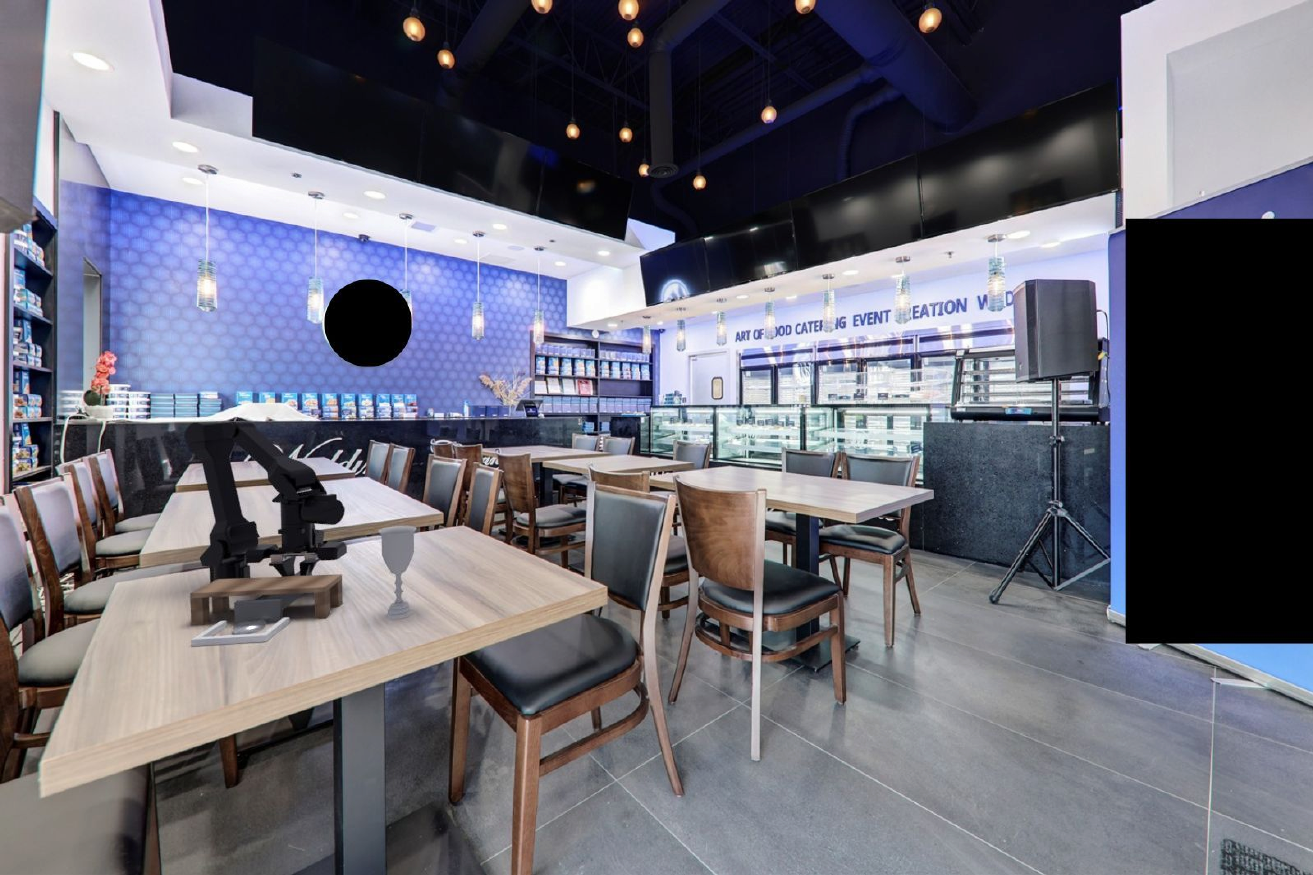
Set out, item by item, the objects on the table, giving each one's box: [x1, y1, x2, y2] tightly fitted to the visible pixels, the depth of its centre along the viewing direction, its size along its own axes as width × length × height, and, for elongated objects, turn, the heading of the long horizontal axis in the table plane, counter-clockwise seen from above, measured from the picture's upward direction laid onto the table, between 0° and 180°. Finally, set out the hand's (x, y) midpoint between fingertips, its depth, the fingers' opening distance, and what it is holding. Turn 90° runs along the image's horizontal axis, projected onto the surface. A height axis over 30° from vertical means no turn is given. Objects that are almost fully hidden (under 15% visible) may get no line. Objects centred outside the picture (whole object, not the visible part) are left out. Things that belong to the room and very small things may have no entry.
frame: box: [190, 616, 290, 647], centre depth 96 cm, size 12×8×1 cm, turn 100°
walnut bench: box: [189, 573, 344, 627], centre depth 105 cm, size 24×8×6 cm, turn 100°
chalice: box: [378, 525, 417, 620], centre depth 105 cm, size 7×7×18 cm
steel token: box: [232, 619, 267, 635], centre depth 98 cm, size 5×5×1 cm
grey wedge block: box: [233, 570, 313, 626], centre depth 110 cm, size 8×20×4 cm, turn 10°
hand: (298, 588), depth 116 cm, fingers closed on grey wedge block, 2 cm apart
